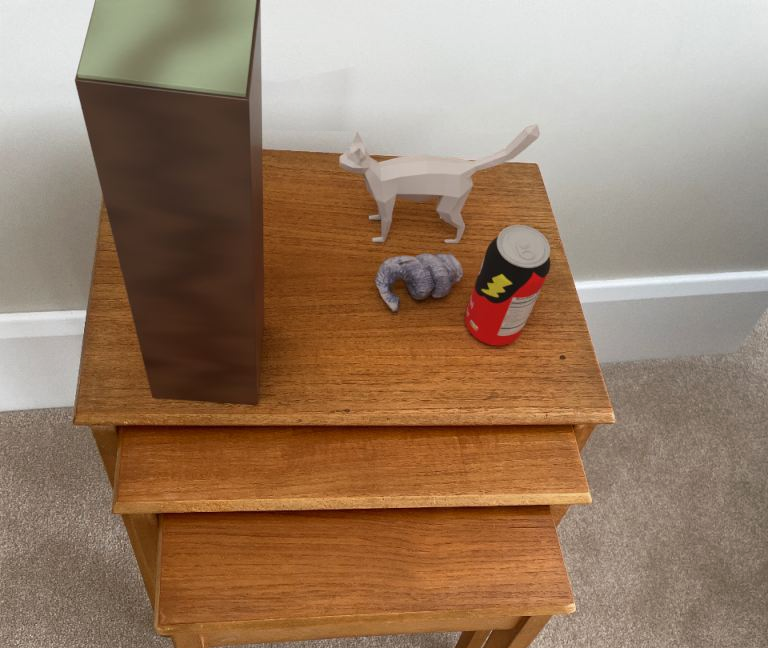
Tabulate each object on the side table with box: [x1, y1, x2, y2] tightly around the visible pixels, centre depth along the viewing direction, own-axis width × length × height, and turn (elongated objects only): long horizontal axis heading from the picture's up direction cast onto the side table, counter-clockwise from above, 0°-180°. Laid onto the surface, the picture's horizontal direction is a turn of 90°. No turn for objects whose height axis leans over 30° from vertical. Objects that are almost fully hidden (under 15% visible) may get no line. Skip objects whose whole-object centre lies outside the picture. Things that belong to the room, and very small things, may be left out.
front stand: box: [74, 0, 265, 406], centre depth 62 cm, size 10×10×33 cm
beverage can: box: [464, 224, 551, 347], centre depth 78 cm, size 6×6×12 cm
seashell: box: [374, 252, 464, 312], centre depth 82 cm, size 5×5×10 cm
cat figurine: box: [338, 123, 541, 244], centre depth 82 cm, size 4×20×14 cm, turn 97°
